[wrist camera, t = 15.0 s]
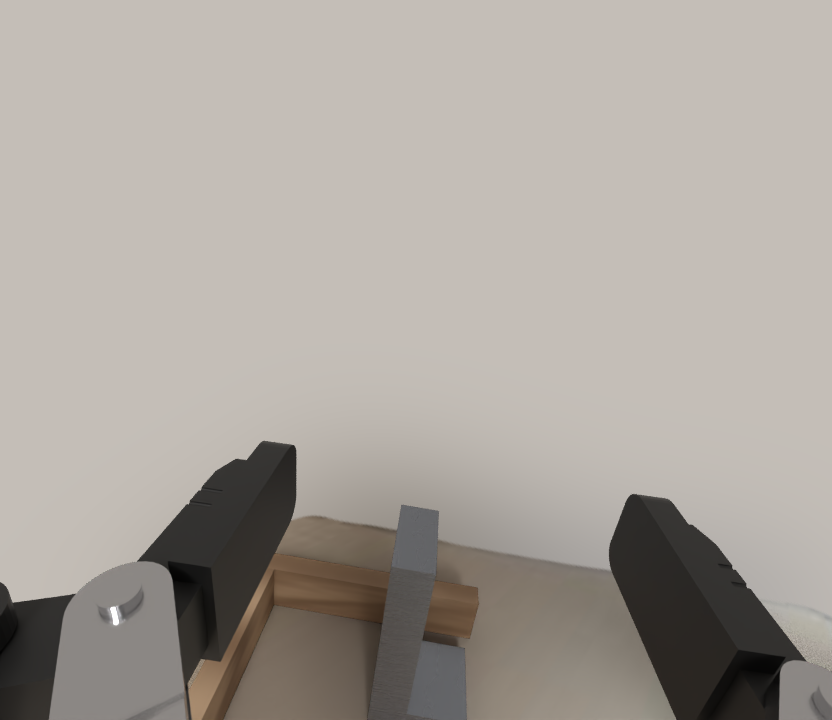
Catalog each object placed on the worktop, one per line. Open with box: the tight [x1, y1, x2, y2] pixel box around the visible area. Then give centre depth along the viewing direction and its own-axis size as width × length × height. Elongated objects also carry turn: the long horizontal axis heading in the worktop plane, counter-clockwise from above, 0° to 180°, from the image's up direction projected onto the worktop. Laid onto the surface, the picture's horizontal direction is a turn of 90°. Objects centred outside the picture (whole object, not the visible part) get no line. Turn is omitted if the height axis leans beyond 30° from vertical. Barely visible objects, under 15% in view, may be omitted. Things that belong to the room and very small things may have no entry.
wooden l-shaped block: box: [189, 553, 479, 720], centre depth 28 cm, size 14×18×4 cm
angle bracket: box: [367, 505, 467, 720], centre depth 27 cm, size 5×6×14 cm
